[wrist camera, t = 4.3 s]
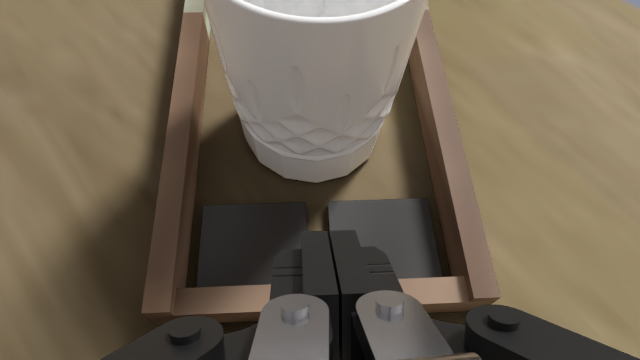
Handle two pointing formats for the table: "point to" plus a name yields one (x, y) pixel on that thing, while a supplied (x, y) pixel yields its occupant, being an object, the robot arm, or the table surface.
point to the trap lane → (290, 218)
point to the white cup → (313, 76)
